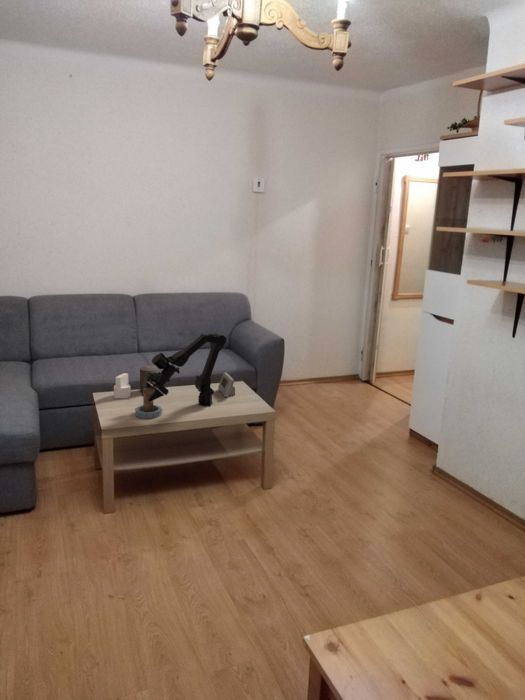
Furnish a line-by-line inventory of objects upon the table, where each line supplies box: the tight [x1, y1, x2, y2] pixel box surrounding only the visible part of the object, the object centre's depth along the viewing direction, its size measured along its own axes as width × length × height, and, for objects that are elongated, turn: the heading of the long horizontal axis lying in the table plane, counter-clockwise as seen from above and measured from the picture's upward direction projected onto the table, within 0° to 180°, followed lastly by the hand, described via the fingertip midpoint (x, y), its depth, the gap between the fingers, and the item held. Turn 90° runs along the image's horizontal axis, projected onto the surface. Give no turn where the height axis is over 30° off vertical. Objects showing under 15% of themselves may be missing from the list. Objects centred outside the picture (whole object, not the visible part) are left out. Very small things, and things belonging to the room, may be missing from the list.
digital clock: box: [217, 371, 236, 398], centre depth 316 cm, size 16×9×11 cm, turn 8°
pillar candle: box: [139, 365, 158, 394], centre depth 315 cm, size 10×10×15 cm
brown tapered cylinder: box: [142, 388, 154, 412], centre depth 279 cm, size 5×5×12 cm
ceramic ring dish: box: [134, 404, 163, 420], centre depth 281 cm, size 13×13×3 cm
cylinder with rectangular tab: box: [113, 372, 132, 399], centre depth 305 cm, size 9×9×12 cm
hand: (145, 398), depth 278 cm, fingers open, 9 cm apart
